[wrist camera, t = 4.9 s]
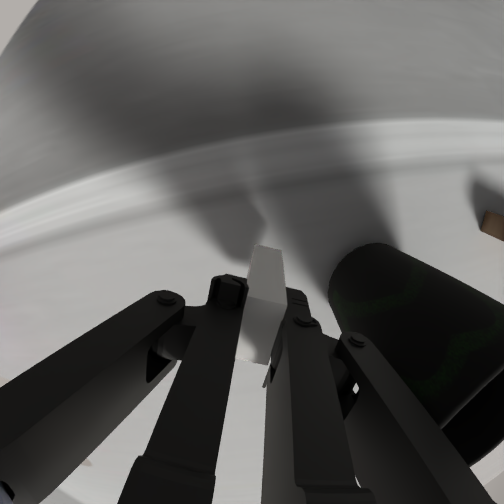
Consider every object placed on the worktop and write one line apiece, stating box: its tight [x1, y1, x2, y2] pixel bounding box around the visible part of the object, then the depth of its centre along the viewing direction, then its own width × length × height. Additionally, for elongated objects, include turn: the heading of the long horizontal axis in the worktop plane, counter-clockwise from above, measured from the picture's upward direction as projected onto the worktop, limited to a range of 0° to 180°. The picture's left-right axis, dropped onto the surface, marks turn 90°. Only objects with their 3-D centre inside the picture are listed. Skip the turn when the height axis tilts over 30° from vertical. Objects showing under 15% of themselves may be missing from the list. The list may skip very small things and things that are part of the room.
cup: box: [328, 243, 504, 467], centre depth 12 cm, size 8×8×12 cm
